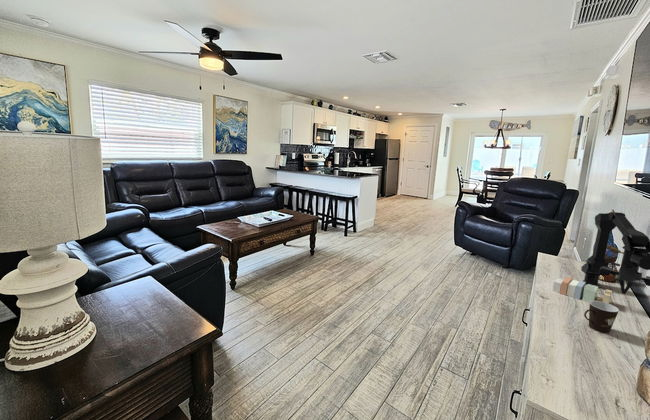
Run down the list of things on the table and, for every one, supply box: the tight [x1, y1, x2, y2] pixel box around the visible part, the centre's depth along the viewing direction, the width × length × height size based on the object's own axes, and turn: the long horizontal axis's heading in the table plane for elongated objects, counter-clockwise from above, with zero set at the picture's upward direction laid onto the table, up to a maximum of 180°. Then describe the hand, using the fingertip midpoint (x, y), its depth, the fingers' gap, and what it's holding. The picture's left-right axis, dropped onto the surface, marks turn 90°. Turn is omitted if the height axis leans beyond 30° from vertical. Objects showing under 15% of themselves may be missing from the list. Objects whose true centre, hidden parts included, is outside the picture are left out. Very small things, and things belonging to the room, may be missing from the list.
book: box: [581, 284, 599, 304], centre depth 144 cm, size 9×4×6 cm, turn 131°
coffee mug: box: [583, 300, 620, 334], centre depth 120 cm, size 12×9×10 cm
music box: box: [603, 244, 624, 283], centre depth 168 cm, size 15×11×20 cm
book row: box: [552, 276, 586, 300], centre depth 151 cm, size 9×11×6 cm
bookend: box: [595, 289, 613, 304], centre depth 140 cm, size 8×4×6 cm, turn 131°
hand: (623, 293), depth 135 cm, fingers closed
